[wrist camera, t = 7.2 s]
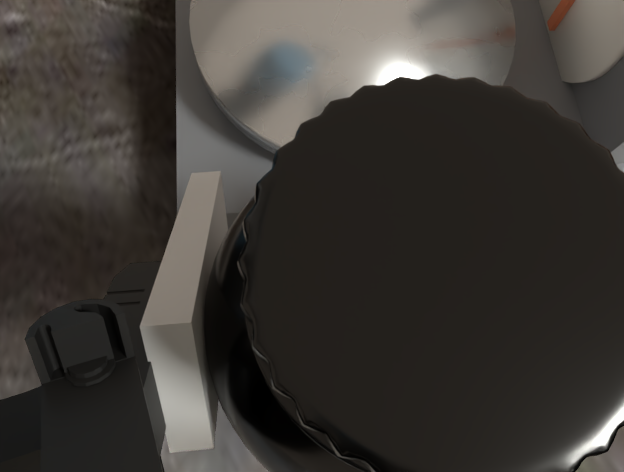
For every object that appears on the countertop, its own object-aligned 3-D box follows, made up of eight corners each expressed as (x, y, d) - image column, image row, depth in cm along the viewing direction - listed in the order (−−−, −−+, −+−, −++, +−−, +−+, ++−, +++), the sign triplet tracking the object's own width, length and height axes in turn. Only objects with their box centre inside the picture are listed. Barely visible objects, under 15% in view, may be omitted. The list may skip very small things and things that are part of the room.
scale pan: (197, 185, 20) (191, 172, 19) (192, -78, 25) (187, -101, 24) (536, 161, 21) (550, 147, 20) (472, -89, 26) (481, -112, 24)
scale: (191, 239, 24) (120, 128, 14) (187, -30, 29) (133, -245, 19) (645, 205, 25) (860, 81, 15) (564, -47, 30) (689, -258, 20)
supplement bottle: (349, 215, 18) (448, -87, 7) (491, 357, 17) (903, 272, 6) (200, 346, 17) (10, 235, 5) (344, 515, 15) (504, 849, 4)
